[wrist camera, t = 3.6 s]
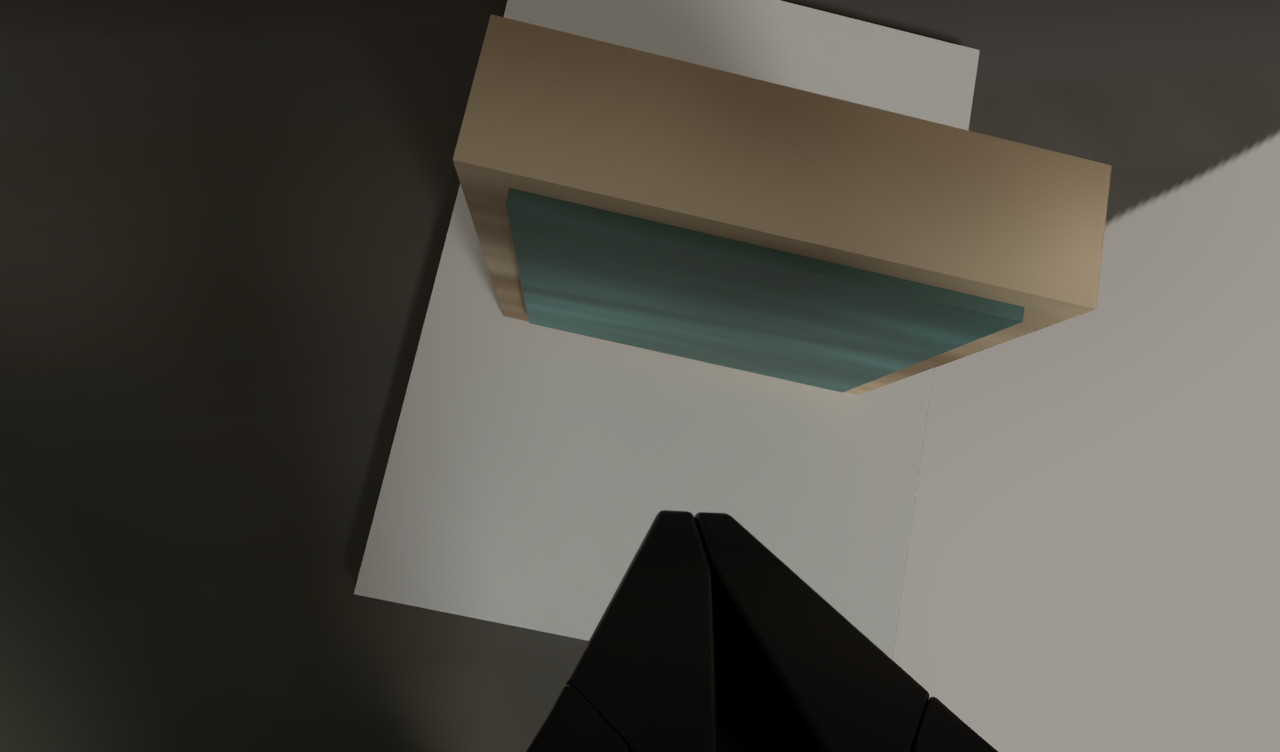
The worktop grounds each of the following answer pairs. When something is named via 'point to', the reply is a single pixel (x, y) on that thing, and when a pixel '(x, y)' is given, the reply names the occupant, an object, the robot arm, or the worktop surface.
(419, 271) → the worktop surface
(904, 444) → the mat
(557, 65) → the plaque
